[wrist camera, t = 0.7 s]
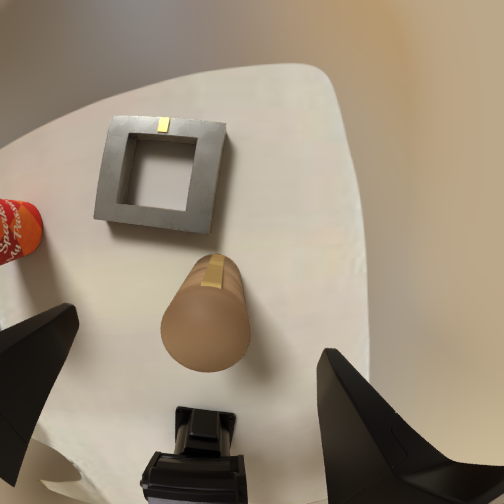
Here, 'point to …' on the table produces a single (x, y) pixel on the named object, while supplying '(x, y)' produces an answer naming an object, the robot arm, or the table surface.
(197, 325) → the walnut peg
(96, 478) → the table surface
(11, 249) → the paper cup
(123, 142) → the grey square socket base
